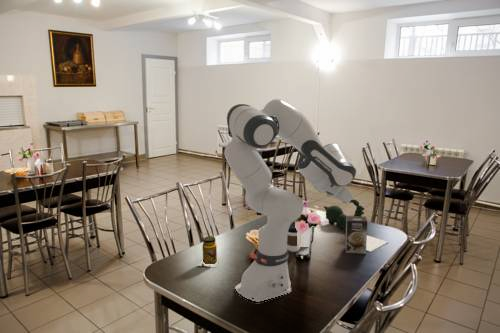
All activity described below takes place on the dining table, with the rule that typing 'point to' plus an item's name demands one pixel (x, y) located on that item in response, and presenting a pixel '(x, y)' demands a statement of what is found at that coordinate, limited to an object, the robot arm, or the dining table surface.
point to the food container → (313, 232)
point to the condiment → (209, 250)
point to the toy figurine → (341, 214)
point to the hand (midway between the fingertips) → (338, 198)
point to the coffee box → (356, 234)
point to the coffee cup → (292, 238)
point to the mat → (374, 243)
